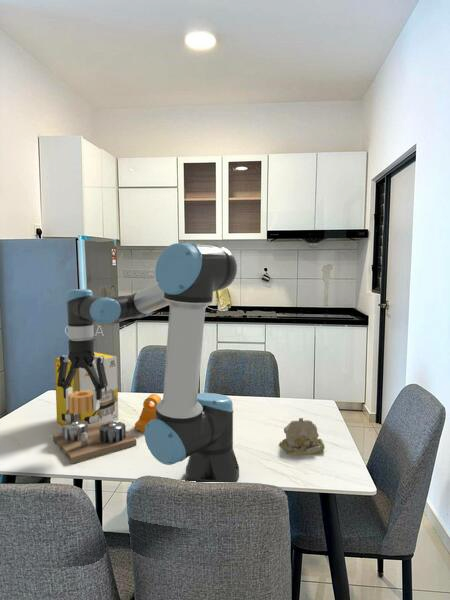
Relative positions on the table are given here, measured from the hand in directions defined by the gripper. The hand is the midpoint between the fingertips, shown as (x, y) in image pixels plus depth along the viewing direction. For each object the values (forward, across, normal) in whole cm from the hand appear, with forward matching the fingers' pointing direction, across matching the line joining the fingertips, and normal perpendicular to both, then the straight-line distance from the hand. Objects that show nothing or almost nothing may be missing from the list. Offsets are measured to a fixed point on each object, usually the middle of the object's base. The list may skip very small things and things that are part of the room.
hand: (83, 408), depth 127 cm
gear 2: (+12, -7, -7) cm, 15 cm away
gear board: (+14, 0, -6) cm, 16 cm away
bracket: (+14, -16, -21) cm, 30 cm away
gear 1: (+12, +6, -7) cm, 15 cm away
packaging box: (+15, +11, -25) cm, 31 cm away
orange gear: (0, 0, 0) cm, 0 cm away
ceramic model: (+14, -69, -11) cm, 72 cm away
